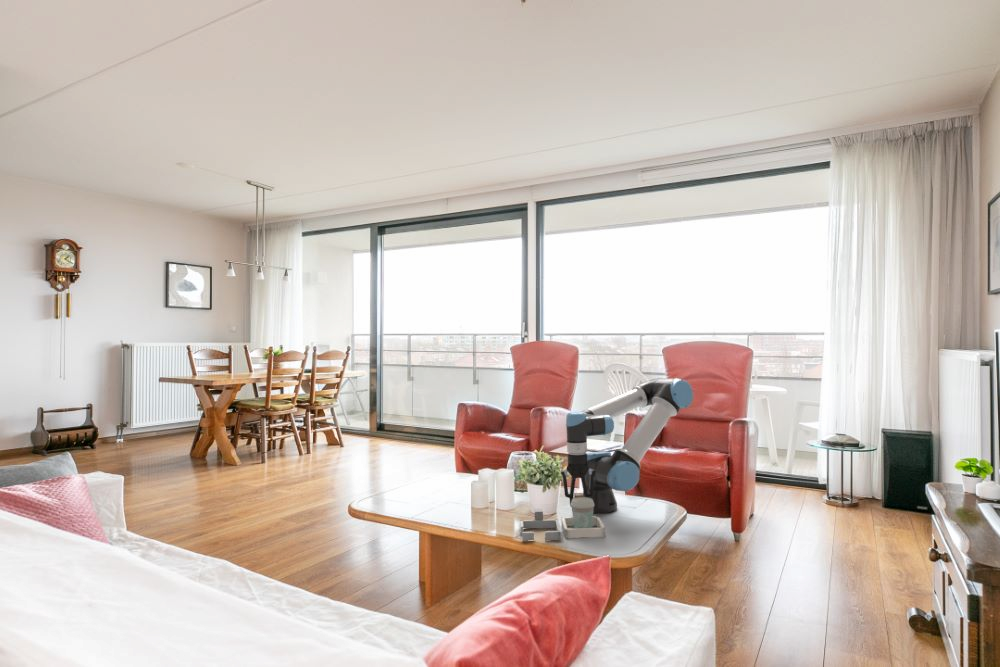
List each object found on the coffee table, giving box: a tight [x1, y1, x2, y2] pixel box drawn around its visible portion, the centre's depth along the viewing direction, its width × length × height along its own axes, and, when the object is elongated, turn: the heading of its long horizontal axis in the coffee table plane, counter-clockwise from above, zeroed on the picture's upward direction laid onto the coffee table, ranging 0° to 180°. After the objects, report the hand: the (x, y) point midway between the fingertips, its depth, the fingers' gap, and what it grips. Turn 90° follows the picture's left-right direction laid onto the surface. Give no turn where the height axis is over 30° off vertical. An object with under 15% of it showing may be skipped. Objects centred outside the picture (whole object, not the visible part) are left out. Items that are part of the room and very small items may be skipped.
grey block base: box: [519, 508, 563, 542], centre depth 216 cm, size 19×14×6 cm
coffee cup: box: [570, 497, 595, 528], centre depth 214 cm, size 8×8×12 cm
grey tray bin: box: [560, 492, 606, 539], centre depth 219 cm, size 19×14×11 cm
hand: (579, 515), depth 226 cm, fingers closed on grey tray bin, 3 cm apart
